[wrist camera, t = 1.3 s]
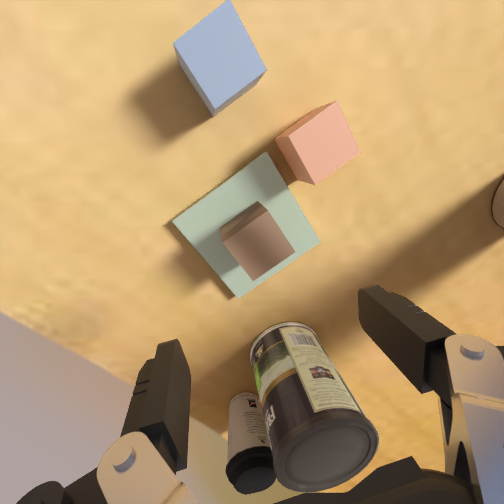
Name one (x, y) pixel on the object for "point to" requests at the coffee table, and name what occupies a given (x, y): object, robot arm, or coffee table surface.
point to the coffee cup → (248, 446)
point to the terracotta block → (318, 144)
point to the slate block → (219, 58)
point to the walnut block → (255, 240)
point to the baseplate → (233, 203)
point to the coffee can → (309, 411)
